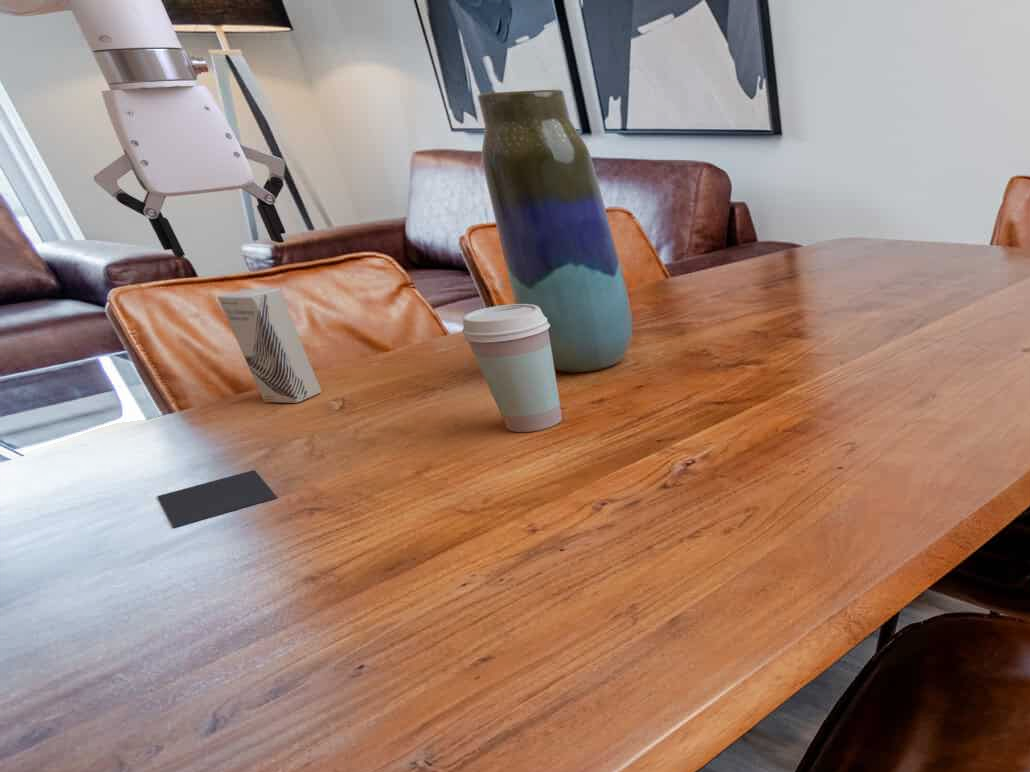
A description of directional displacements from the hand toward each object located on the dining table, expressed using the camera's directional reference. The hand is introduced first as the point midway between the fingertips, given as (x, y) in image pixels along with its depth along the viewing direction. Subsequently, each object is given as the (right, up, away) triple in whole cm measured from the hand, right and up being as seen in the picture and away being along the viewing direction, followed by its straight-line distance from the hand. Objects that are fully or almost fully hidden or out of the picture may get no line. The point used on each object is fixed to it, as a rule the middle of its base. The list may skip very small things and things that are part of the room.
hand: (230, 248), depth 95 cm
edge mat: (+12, -31, -17) cm, 37 cm away
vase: (+35, -9, +16) cm, 40 cm away
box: (+1, -15, +9) cm, 18 cm away
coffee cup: (+37, -21, -3) cm, 42 cm away
